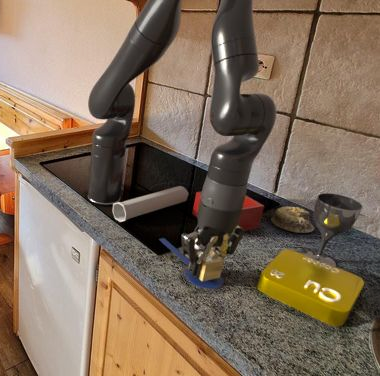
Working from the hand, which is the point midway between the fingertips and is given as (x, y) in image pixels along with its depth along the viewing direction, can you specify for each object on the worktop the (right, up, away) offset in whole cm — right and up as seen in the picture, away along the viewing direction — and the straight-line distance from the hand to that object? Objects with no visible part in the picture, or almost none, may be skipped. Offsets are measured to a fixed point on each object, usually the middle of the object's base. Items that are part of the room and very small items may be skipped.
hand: (203, 272), depth 84 cm
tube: (-3, +11, +28) cm, 31 cm away
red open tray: (+15, +9, +24) cm, 29 cm away
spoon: (-2, +1, +6) cm, 6 cm away
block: (0, 0, 0) cm, 0 cm away
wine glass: (+29, +1, +8) cm, 30 cm away
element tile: (+19, -4, -3) cm, 20 cm away
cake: (+32, +8, +23) cm, 40 cm away
